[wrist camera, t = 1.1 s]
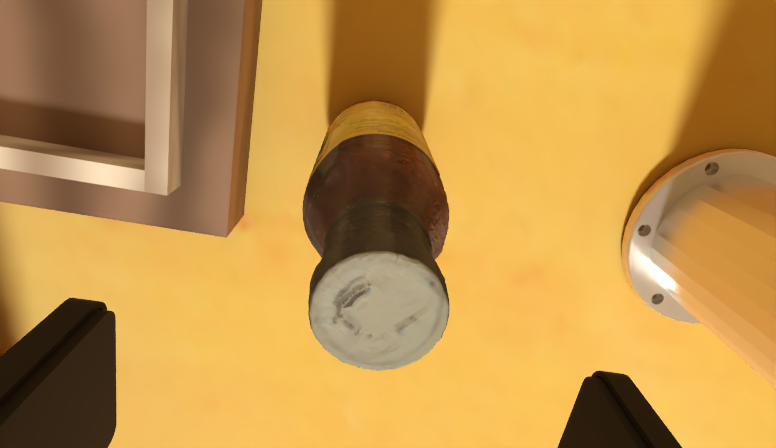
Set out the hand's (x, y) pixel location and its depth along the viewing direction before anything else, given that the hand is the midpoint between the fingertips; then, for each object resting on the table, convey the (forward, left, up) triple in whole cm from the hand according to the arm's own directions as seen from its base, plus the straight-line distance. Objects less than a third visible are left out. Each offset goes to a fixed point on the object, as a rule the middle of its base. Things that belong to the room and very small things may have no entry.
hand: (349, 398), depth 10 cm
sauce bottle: (0, 0, -24) cm, 24 cm away
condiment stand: (+17, -3, -24) cm, 29 cm away
